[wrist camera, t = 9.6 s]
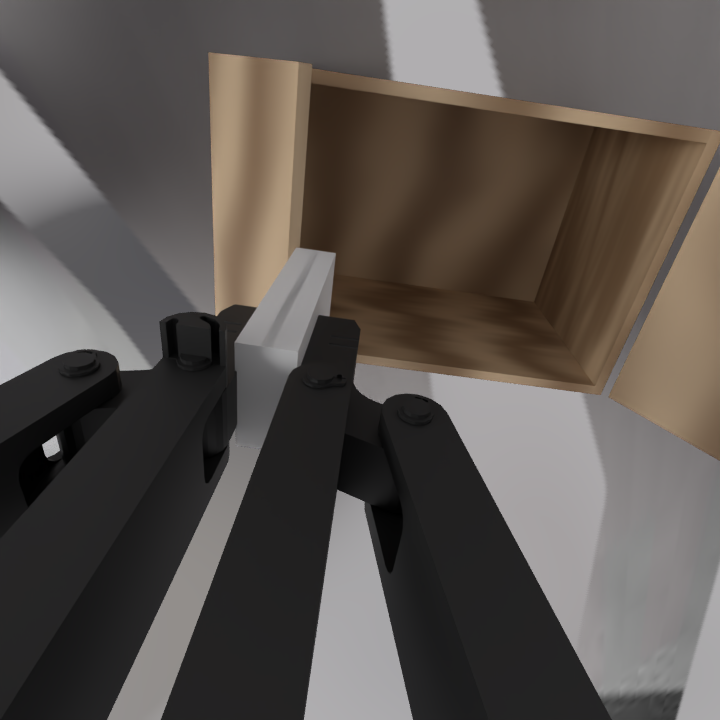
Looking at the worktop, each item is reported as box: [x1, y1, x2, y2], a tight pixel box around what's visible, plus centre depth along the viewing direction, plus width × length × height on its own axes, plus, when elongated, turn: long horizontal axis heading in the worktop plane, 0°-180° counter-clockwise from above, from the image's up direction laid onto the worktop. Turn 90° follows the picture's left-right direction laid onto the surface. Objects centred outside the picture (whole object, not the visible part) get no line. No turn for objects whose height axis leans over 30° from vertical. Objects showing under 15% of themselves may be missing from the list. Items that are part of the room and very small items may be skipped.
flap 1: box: [208, 52, 312, 316], centre depth 19 cm, size 8×13×1 cm
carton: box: [300, 68, 720, 395], centre depth 27 cm, size 20×13×12 cm, turn 82°
